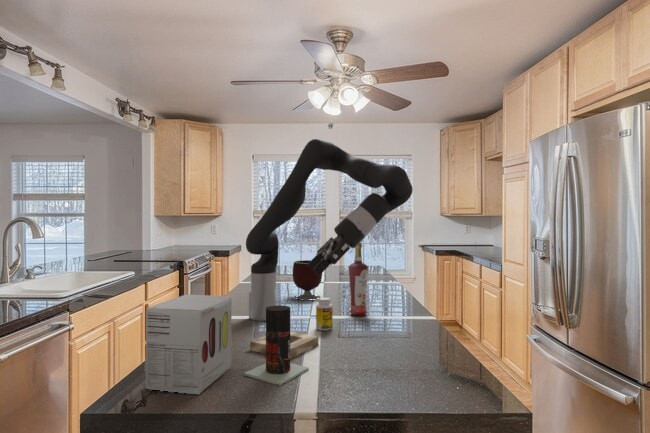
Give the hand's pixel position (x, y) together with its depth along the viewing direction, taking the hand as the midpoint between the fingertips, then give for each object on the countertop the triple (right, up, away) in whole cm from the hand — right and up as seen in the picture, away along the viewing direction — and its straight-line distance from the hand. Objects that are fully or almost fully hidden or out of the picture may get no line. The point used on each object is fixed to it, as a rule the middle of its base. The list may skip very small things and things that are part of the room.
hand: (312, 270), depth 105 cm
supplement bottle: (+3, -24, +31) cm, 40 cm away
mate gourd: (-5, -24, +83) cm, 87 cm away
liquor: (+16, -24, +50) cm, 58 cm away
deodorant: (-8, -23, -7) cm, 26 cm away
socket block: (-8, -24, +11) cm, 28 cm away
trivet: (-8, -24, -8) cm, 26 cm away
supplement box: (-28, -24, -11) cm, 39 cm away
